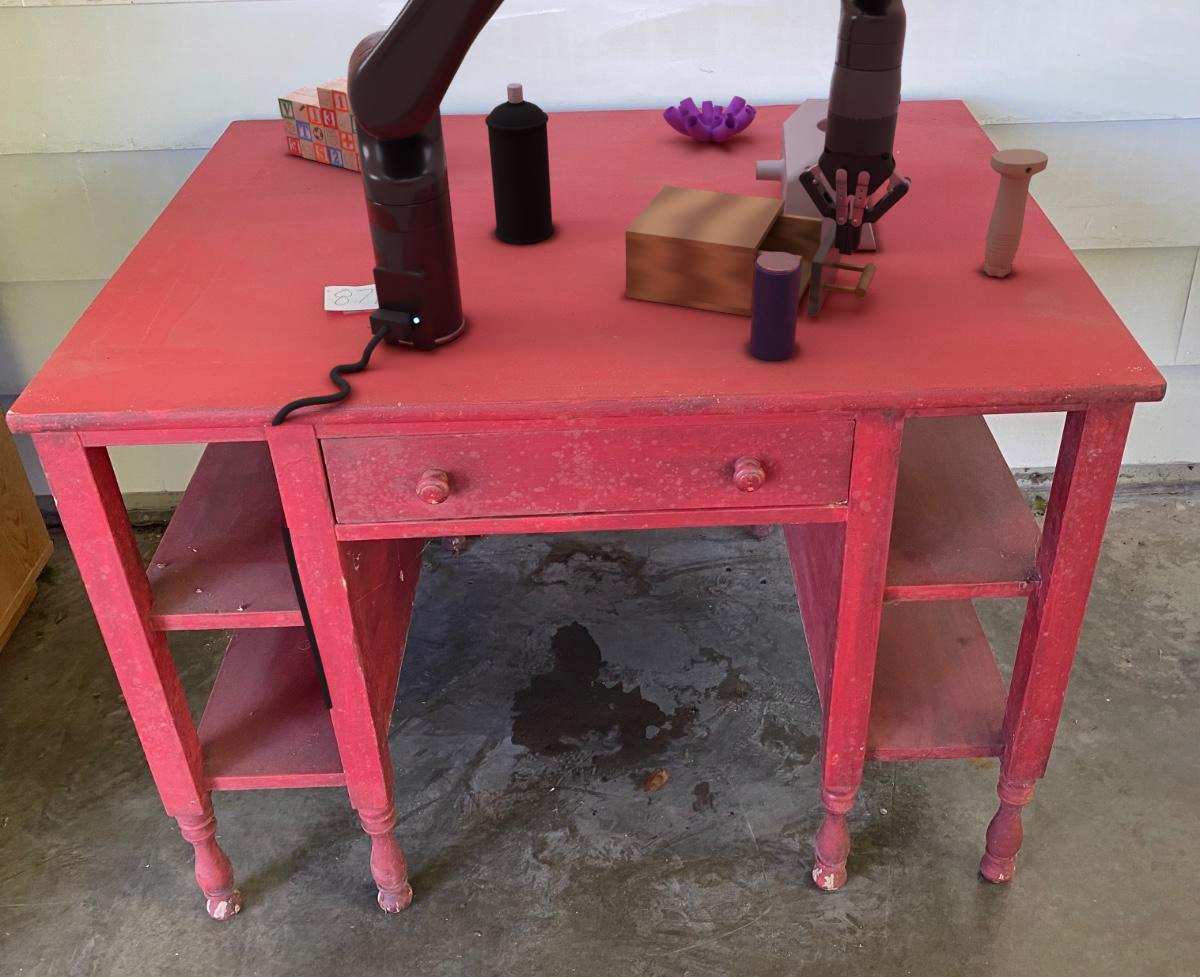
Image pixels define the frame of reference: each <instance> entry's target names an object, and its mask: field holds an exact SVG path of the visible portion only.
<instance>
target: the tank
mask: <svg viewBox="0 0 1200 977" xmlns="http://www.w3.org/2000/svg"><path fill="white" fill-rule="evenodd" d="M828 102H829V98H806V99H805V100H804V101H803V102H802V103H801V104H800V105H799V107H797V109H796V110H794V111H793V113H792V114H791V115H790V116H789V117H787V119H786V120H784V122H783V124H782V137H781V151H780V159H768V160H767V159H766V160H765V159H763V160H760V159H759V160H756V162H755V180H756V181H774V182H780V183H781V198H782V199H781V200H785V206H784V214H790V215H798V216H806V217H814V218H822V219H823V223H822V233H821V243H820V246H821V244H822V242H823V240H824V238H825V236H826V234H827V232H828V230H829V228H830V226H831V224H832V223H833V221H834V220H833V219H831V218H829V217H828V218H825V217H823V216H822V214H821V213H820V211H819V210H818V208H817V207H816V205H815V204H814V202H813V201H812V199H811V198H810V196H809V195H808V193H807V192H806V190H805V189H804V187H803V186H802V184H801V183H800V181H799V176H800V174H801V173H802V171H803V170H804V168H805V167H807V166H810V167H811V166H813V165H814V164H816V163H818V160H819V157H820V156H821V154H822V153H823V150H824V144H825V134H826V123H827V112H828ZM822 175H823V179H822V181H821V182H822V183H823V185H824V186H825V188H826V189H827V191H828V192H829V194H830V195H831V197H832V198H833V200H834V202H835V203H836V192H835V191H834V190H833V189H832V188H831V186H830V184H829V183H828V181H827V179H826V178H825V176H824V174H823V173H822ZM854 199H855V196H853V195H852V197H851V213H850V216H849V219H851V217H852V212H853V204H854ZM867 208H868V206H867V207H866V209H867ZM857 250H866V251H867V250H869V251H870V250H871V251H876V250H877V246H876V241H875V237H874V232H873V227H872V223H865V224H863V226H862V234H861V243H860V245H859V247H858V249H857Z"/></svg>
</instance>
